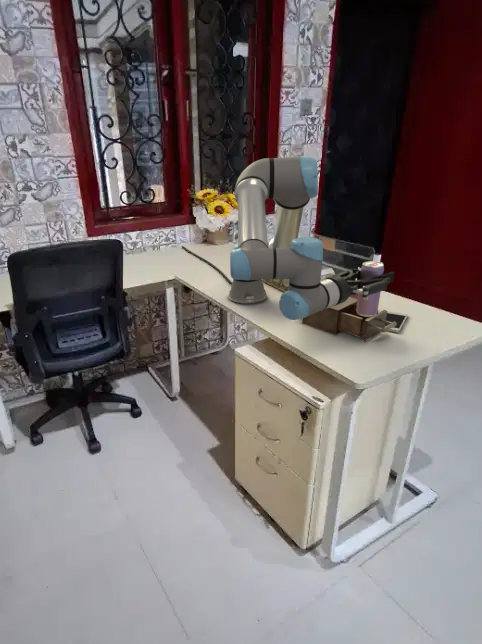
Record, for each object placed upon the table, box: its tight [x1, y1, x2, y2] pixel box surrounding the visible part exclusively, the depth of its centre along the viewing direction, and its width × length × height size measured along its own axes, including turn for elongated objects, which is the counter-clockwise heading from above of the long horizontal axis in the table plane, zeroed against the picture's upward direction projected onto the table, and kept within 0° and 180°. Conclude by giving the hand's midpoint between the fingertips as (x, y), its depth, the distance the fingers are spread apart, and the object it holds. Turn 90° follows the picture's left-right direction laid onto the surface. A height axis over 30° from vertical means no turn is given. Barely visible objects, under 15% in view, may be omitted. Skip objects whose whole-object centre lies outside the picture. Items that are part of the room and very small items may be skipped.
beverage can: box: [356, 260, 385, 317], centre depth 120 cm, size 6×6×15 cm
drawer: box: [338, 304, 397, 342], centre depth 134 cm, size 17×12×7 cm
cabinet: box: [301, 297, 357, 336], centre depth 144 cm, size 14×13×9 cm
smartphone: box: [385, 310, 409, 333], centre depth 143 cm, size 7×16×1 cm, turn 146°
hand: (382, 273), depth 121 cm, fingers closed on beverage can, 6 cm apart
